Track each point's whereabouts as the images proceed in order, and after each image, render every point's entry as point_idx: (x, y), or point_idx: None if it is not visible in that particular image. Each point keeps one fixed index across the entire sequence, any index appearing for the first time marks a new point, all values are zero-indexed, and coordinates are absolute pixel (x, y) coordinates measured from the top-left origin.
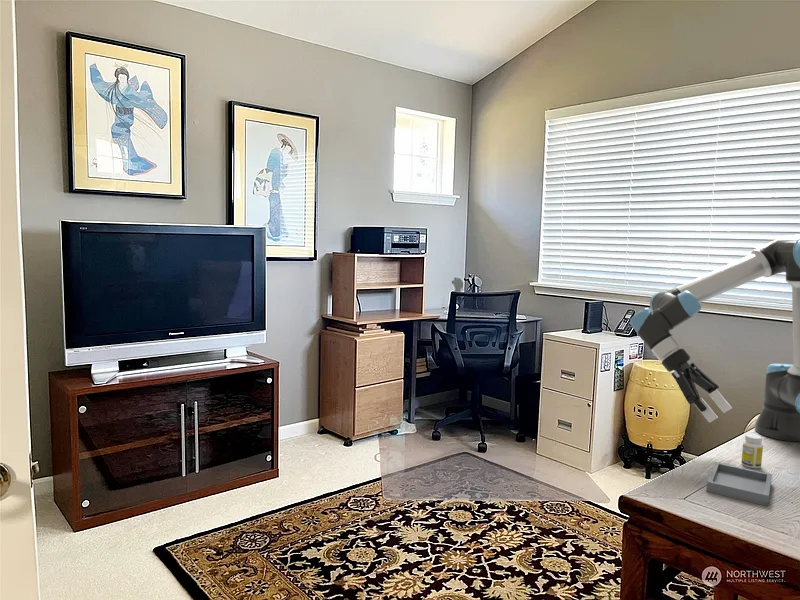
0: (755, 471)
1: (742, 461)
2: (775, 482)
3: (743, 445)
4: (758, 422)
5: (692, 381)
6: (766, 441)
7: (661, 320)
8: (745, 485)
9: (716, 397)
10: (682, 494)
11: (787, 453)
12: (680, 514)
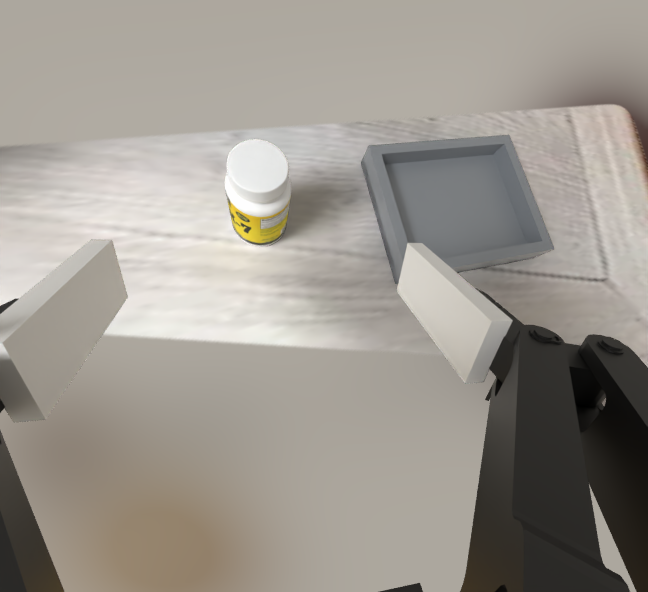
0: (385, 178)
1: (277, 238)
2: (343, 156)
3: (278, 214)
4: None
5: (540, 515)
6: None
7: None
8: (448, 195)
9: (62, 339)
10: (590, 289)
11: (22, 160)
12: None
